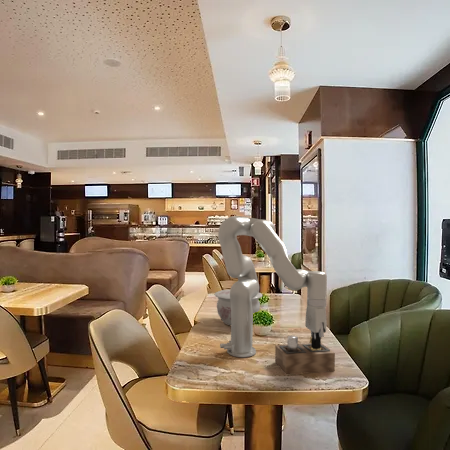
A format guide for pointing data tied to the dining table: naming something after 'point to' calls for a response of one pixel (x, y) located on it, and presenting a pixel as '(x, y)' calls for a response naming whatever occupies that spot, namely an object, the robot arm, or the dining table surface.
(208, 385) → the dining table surface
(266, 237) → the robot arm
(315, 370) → the walnut block
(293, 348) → the steel plunger
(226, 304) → the chamber pot
